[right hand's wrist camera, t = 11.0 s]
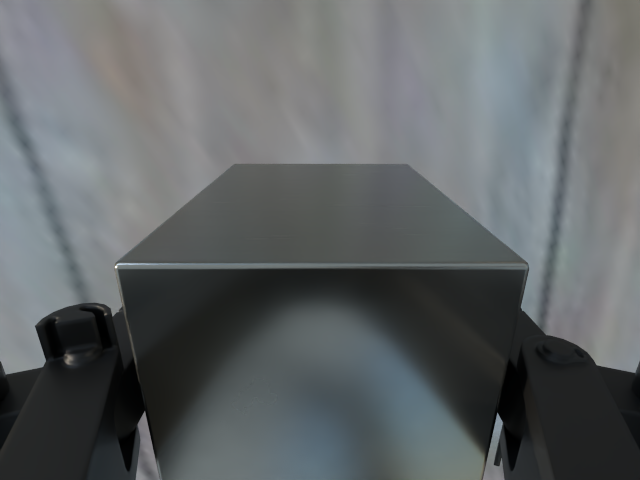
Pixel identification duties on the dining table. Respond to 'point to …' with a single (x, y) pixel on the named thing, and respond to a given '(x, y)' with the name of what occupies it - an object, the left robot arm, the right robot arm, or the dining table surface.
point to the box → (321, 327)
